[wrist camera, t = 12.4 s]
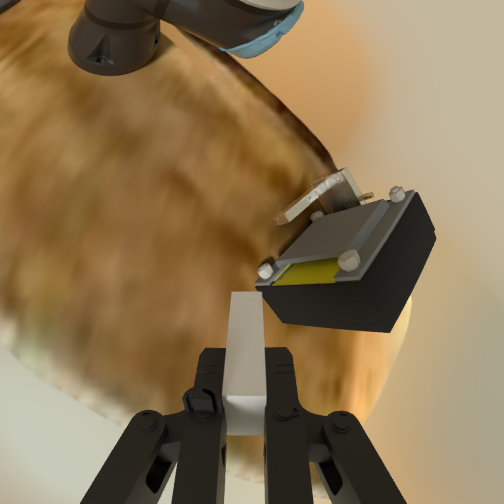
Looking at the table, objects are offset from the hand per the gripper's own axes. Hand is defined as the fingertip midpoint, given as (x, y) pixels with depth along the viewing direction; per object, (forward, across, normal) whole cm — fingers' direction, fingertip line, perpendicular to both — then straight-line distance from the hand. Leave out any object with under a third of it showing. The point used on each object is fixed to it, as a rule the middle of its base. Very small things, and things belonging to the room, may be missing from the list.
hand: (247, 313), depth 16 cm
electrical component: (+32, +8, -14) cm, 36 cm away
